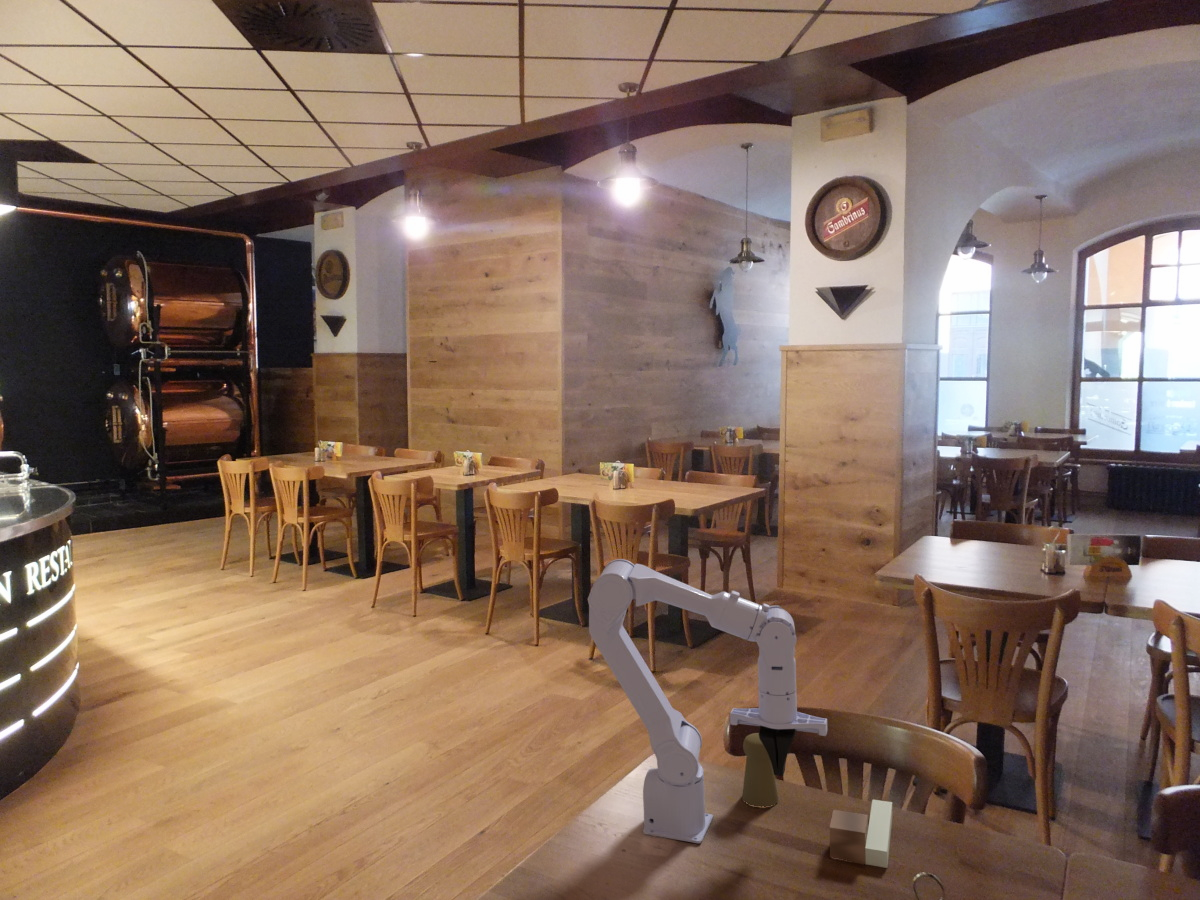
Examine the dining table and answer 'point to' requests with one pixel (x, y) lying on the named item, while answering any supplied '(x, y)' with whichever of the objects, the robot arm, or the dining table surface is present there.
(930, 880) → the dining table surface
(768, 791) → the cork
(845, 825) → the walnut block
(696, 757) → the robot arm
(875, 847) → the cream rectangular bar
